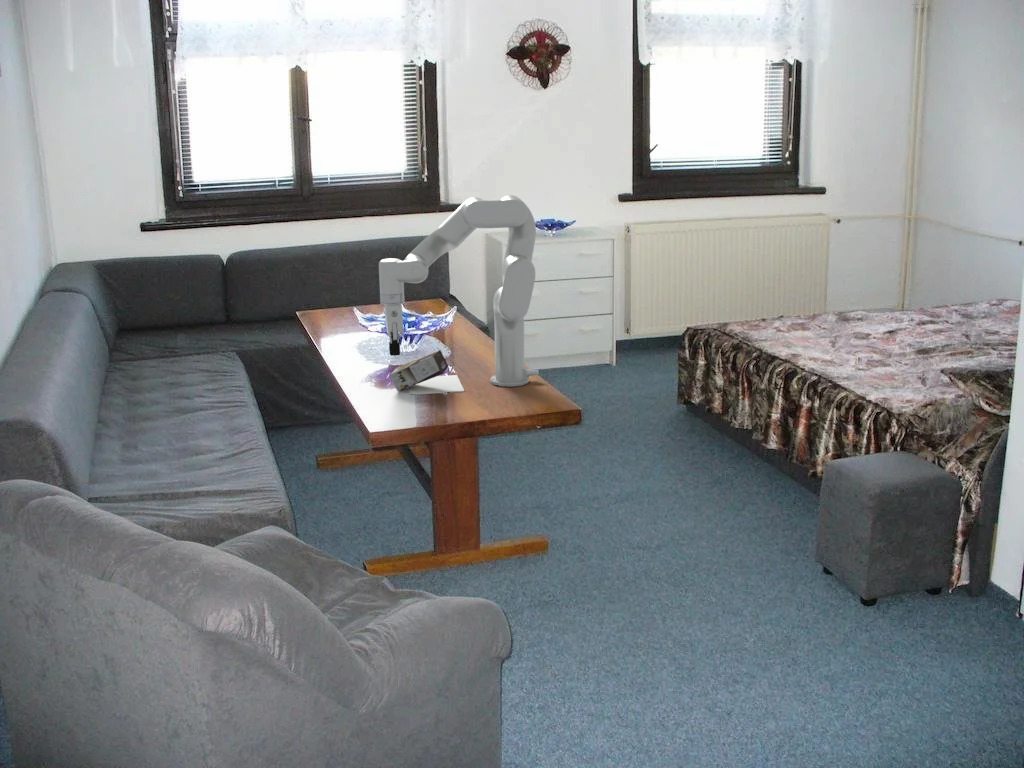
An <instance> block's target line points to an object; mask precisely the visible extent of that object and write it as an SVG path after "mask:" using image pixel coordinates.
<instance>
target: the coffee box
mask: <svg viewBox="0 0 1024 768" xmlns="http://www.w3.org/2000/svg"><path fill="white" fill-rule="evenodd" d="M448 368H449V365H448V363H447V360H446V359H445V357H444V355H443V353H442V350H441V349H438V350H436V351H434V352H433V351H432V352H431V353H428V354H425V355H424V356H421V357H418V358H416V359H414V360H412V361H410V362H407V363H404V364H401V365H400V366H397V367H396V368H395V369H394V370H393V371H392V372H391V373H390V374H389V376H390V378H391V381H392V383H393V384H394V387H395V389H396V392H400V391H403V390H406V389H407V388H408V387H411V386H413V385H416V384H418V383H421V382H423V381H426V380H429V379H431V378H434V377H436V376H443V374H444V373H445V371H447V369H448ZM408 389H409V388H408Z"/></svg>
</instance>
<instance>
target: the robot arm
mask: <svg viewBox="0 0 1024 768" xmlns="http://www.w3.org/2000/svg"><path fill="white" fill-rule="evenodd" d="M502 228H503V229H504V228H505V229H506V228H507V229H508V238H507V244H506V248H505V254H504V258H503V261H502V265H501V273H502V275H503V277H504V279H503V282H502V286H500V287H499V288H498V289H497V290H496V291H495V293H494V296H493V300H492V304H493V305H492V307H493V309H492V310H493V317H494V319H493V320H494V322H493V323H494V375H492V376H491V377H490V379H489V381H490V383H491V384H492V385H495V386H497V385H498V387H505V386H506V387H512V388H513V387H520V386H521V387H522V386H524V385H527V384H528V383H529V382H530V376H531V377H539V374H540V370H539V369H534V368H528V369H527V368H526V367H525V316H526V315H527V313H528V311H529V309H530V305H531V300H532V296H533V291H534V287H535V286H534V285H535V281H536V267H535V265H534V263H533V262H532V260H533V254H534V249H535V243H536V235H537V229H536V228H537V226H536V222H535V218H534V215H533V213H532V211H531V209H530V208H529V207H528V205H527V204H526V203H525V202H524V201H523V200H522V199H521V198H519V197H518V196H516V195H513V194H507V195H505V196H503V197H501V198H500V200H499V199H498V200H483V199H482V198H480V197H477V196H472V197H469V198H468V199H467V198H466V200H464V202H462V203H461V204H460V205H459V206H458V207H457V209H455V210H454V211H453V213H452V214H451V215H449V216H448V217H447V218H446V220H444V221H443V222H442V223H441V224H440V225H439V226H438V227H437V228H436V229H434V230H433V231H432V232H431V233H430V234H429V235H428V236H426V237H425V238H424V239H423V240H422V241H421V242H420V243H419V244H418V245H417V246H416V247H414V248H413V250H411V252H409V253H408V255H407V256H406V257H405V258H404V260H401V259H400V258H394V257H393V258H391V257H390V258H389V257H388V258H383V259H381V260H380V261H379V262H378V276H379V277H378V280H379V299H380V300H379V301H380V303H379V304H380V305H384V319H385V327H386V328H385V329H386V331H387V335H388V336H389V338H388V339H389V342H388V347H389V355H390V356H391V357H392V356H400V355H401V347H400V344H401V343H400V335H401V336H404V334H405V333H404V321H403V319H404V318H403V307H402V305H403V304H405V302H406V301H405V283H407V284H408V283H409V284H419V283H422V282H424V281H426V279H427V278H428V275H429V267H430V266H431V265H433V263H435V261H437V259H439V258H440V257H441V256H443V255H444V254H446V253H448V252H451V251H454V250H456V249H457V248H458V247H459V246H460V245H462V244H463V242H464V241H465V240H466V239H467V238H469V236H470V235H471V234H472V233H474V231H476V230H477V229H502Z"/></svg>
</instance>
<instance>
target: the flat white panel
mask: <svg viewBox="0 0 1024 768" xmlns="http://www.w3.org/2000/svg"><path fill="white" fill-rule="evenodd" d="M408 391H409V394H410V395H411V394H416V395H429V394H445V393H444V392H450V393H463V392H465V390H464V387H463V385H462V383H461V381H460V378H459V377H458V375H457V374H453V375H439V376H436V377H434V378H431V379H429V380H426V381H423V382H421V383H418V384H416V385H413V386H411V387H408Z"/></svg>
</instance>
